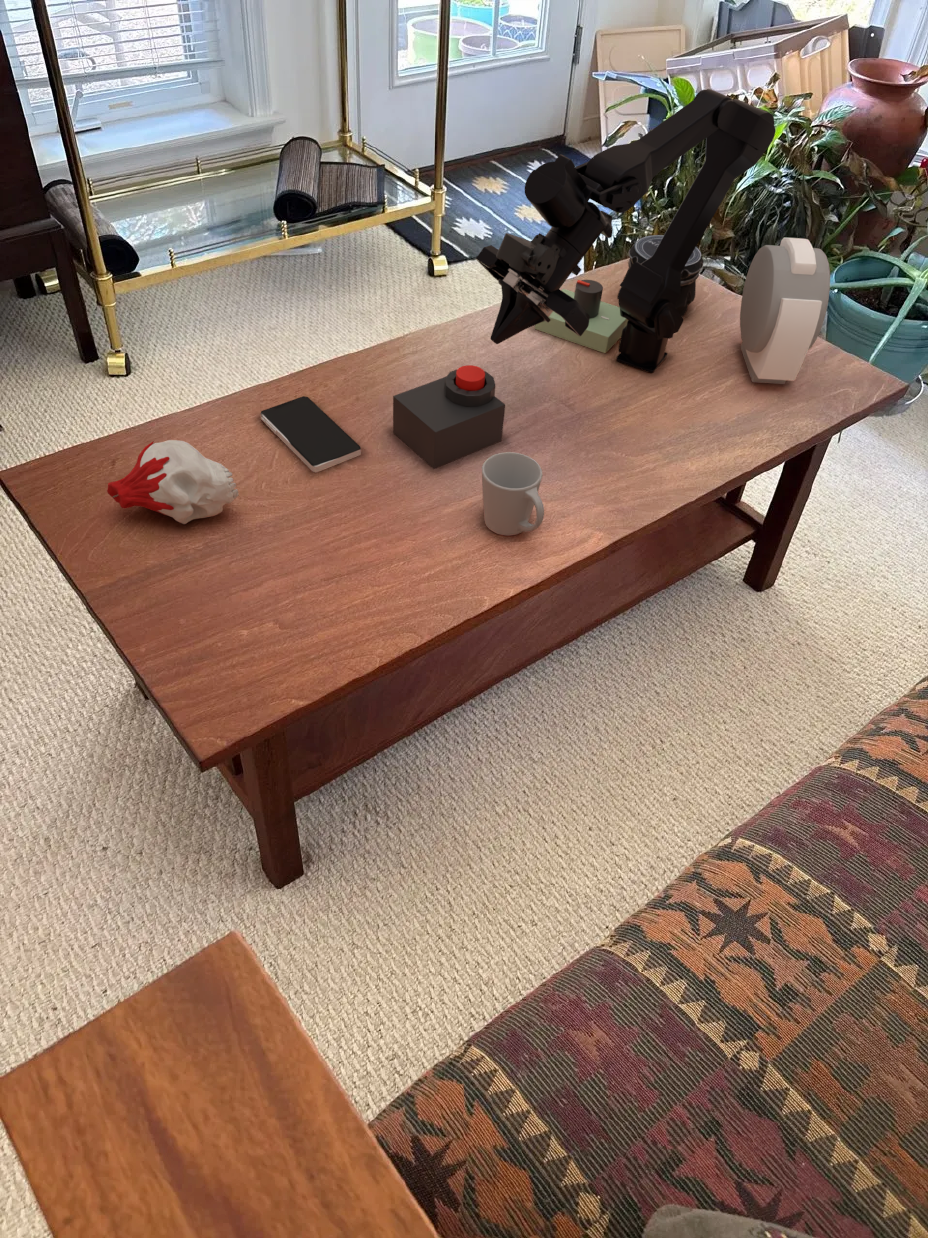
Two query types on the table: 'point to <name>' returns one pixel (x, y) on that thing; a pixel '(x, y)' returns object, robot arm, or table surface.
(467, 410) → the button housing
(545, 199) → the robot arm
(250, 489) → the table surface
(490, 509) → the cup
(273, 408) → the smartphone
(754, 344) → the alarm clock
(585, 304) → the timer knob
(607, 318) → the timer panel
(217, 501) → the candle
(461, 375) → the power button
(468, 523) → the table surface
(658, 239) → the container
